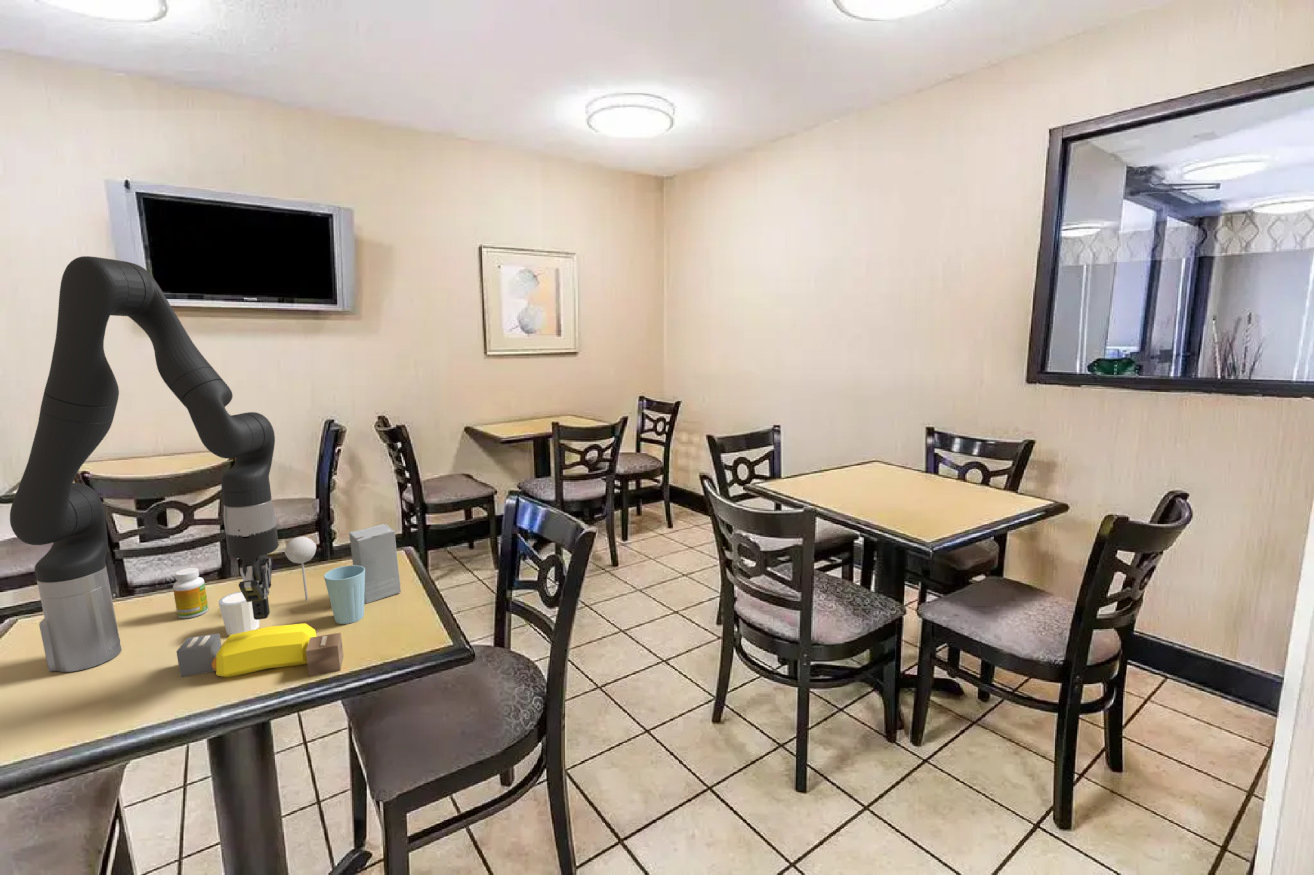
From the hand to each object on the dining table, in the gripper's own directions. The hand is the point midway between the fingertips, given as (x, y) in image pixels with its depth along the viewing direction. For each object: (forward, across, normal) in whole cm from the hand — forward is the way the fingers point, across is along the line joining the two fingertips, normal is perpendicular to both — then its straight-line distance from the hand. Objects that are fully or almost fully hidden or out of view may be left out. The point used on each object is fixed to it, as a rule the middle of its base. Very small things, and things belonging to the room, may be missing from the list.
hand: (262, 617), depth 111 cm
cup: (+9, -14, +12) cm, 21 cm away
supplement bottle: (+10, -29, -20) cm, 36 cm away
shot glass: (+10, -17, -8) cm, 21 cm away
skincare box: (+9, -24, +17) cm, 31 cm away
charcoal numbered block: (+9, -3, -11) cm, 15 cm away
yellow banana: (+10, 0, 0) cm, 10 cm away
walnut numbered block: (+9, +5, +10) cm, 15 cm away
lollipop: (+9, -27, +2) cm, 29 cm away
